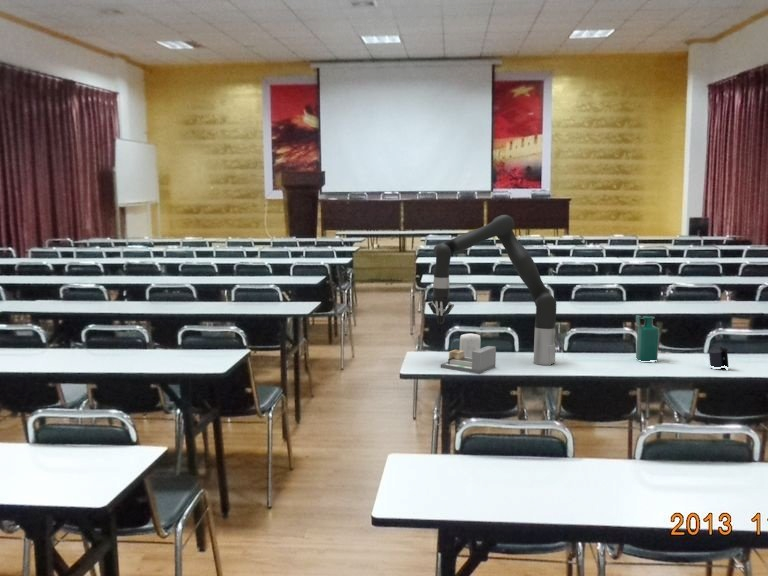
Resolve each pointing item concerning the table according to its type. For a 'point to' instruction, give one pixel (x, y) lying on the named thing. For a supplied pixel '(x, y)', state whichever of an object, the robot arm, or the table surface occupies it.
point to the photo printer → (469, 344)
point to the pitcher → (647, 339)
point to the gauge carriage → (456, 355)
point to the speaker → (718, 357)
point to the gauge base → (475, 361)
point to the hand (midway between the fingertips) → (440, 323)
